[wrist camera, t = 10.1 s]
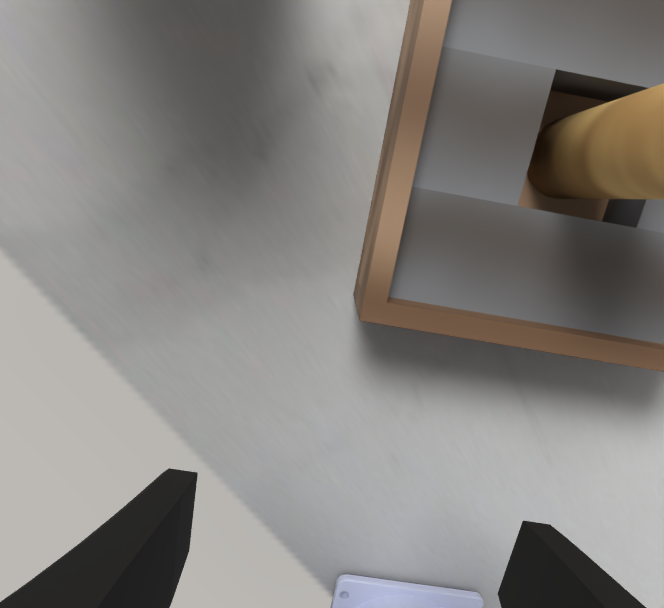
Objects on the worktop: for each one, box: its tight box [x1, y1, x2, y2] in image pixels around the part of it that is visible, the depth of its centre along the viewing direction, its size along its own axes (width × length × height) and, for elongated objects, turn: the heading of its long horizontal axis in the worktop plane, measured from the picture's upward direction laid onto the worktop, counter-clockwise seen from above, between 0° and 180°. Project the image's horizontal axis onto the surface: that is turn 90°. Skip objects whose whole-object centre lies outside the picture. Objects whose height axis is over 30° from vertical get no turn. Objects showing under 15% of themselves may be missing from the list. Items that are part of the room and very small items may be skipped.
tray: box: [354, 0, 664, 372], centre depth 15 cm, size 14×14×4 cm
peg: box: [527, 83, 664, 199], centre depth 12 cm, size 3×3×8 cm
